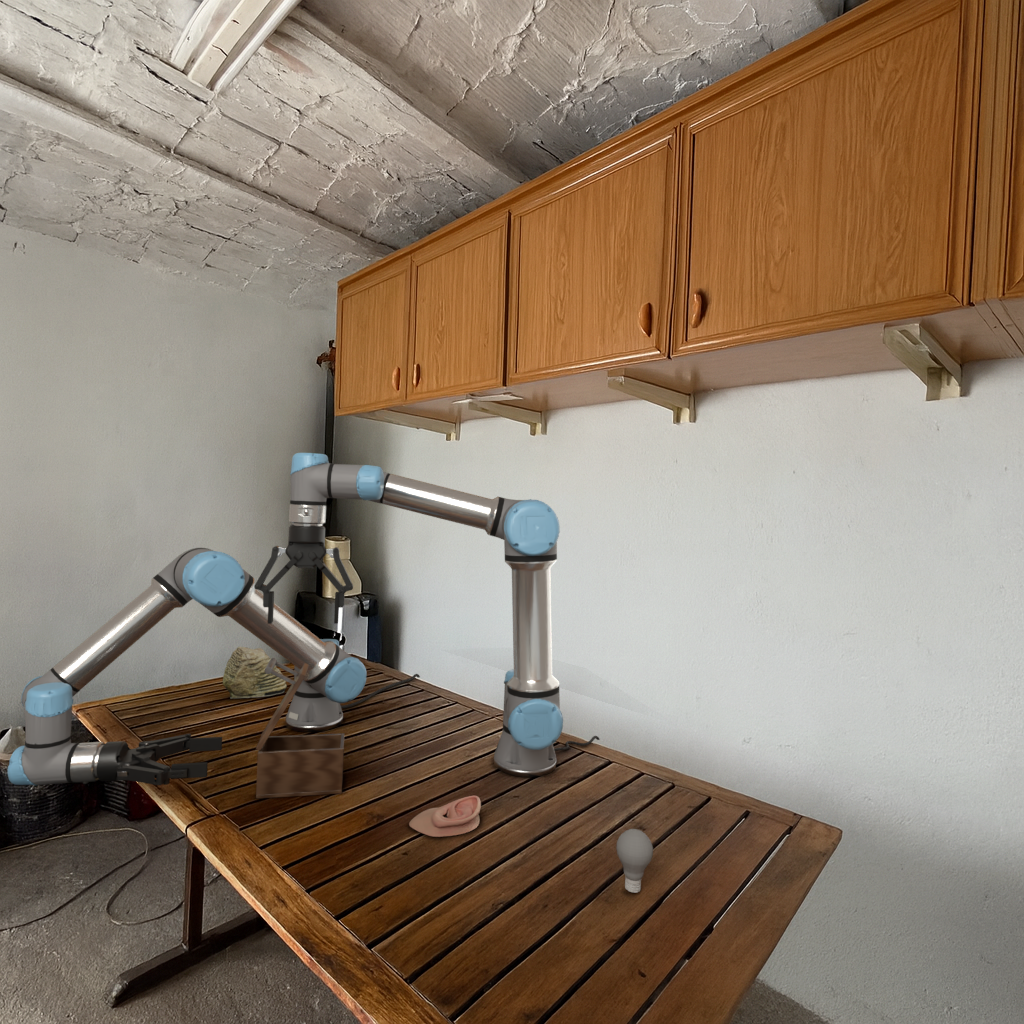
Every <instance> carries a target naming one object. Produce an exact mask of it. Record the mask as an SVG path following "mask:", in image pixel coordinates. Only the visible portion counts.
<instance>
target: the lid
mask: <svg viewBox="0 0 1024 1024" xmlns="http://www.w3.org/2000/svg"><path fill="white" fill-rule="evenodd" d="M275 665H276V667H277V668H279V669H281V670H284V671H285V672H287V673H289V674H292V675H293V676H294V675H295V676H297V677H296V678H295V680H294V679H292V678H290V677H288V676H286V675H284V674H283V673H282V674H280V673H278V672H276V671H274V670H273V669H274V667H275ZM308 666H309V665H308V664H306V663H304V665H303V667H302V668H301V670H300V672H299V673H298V672H296V671H294V669H293V668H291V667H288V666H286V665H284V664H283V663H280V662H278V661H277V659H276V658H275V657H272V658H271V659H270V661H269V663H268V665H267V667H266V668H265V673H266V674H270V673H271V674H273V675H275V676H277V677H279V678H281V679H283V680H285V681H286V683H288V684H290V686H289V687H288V690H287V691H286V693H285V695H284V696H283V698H282V700H281V701H280V703H279V705H278V706H277V708H276V709H275V711H274V713H273V714H272V716H271V718H270V720H269V721H268V723H267V725H266V726H265V727H264V729H263V730H262V733H261V735H260V738H259V739H258V742H257V745H256V747H255V750H257V751H260V750H261V749H262V747H263V745H264V744H265V742H266V740H267V739H268V737H269V736H271V734H272V732H273V731H274V729H275V727H276V725H278V722H279V721H280V719H281V718H282V716H283V714H284V712H285V711H286V709H287V707H288V706H289V705H290V703H291V702H292V699H293V696H294V694H295V693H296V691H297V689H298V688H299V686H300V684H301V683H302V681H303V679H304V678H305V676H306V672H307V669H308Z"/></svg>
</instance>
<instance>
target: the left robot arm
mask: <svg viewBox="0 0 1024 1024" xmlns="http://www.w3.org/2000/svg"><path fill="white" fill-rule="evenodd" d="M255 584H256V582H255V578H254V576H253V575H251V574H250V573H249V572H247V571H246V570H245V569H243V567H242V566H241V564H240V562H239V561H238V560H237V559H236V558H234V557H233V556H232V555H230V554H228V553H225V552H222V551H218V550H217V551H216V550H214V549H210V548H207V547H194V548H191V549H188V550H186V551H183V552H181V553H180V554H179V555H178V556H176V557H175V558H174V559H173V560H172V561H171V562H169V563H168V564H167V565H166V566H165V567H164V568H162V569H161V570H160V571H159V572H158V573H157V574H156V575H154V576H153V577H152V578H151V580H150V586H148V587H147V588H146V589H144V591H142V592H141V593H140V594H139V595H137V596H136V597H135V598H134V599H133V600H132V601H130V602H129V603H128V604H127V605H126V606H124V607H123V608H122V609H120V611H118V612H117V613H115V615H114V616H112V617H111V618H110V619H109V620H107V622H105V623H104V624H103V625H102V626H100V627H99V628H98V629H97V630H96V631H94V632H93V633H92V634H91V635H90V636H88V637H87V638H86V639H85V640H83V641H82V642H81V643H80V644H79V645H77V646H76V647H75V648H74V649H73V650H72V651H70V652H69V653H68V654H66V656H65V657H63V658H62V659H61V660H60V661H59V662H57V663H56V664H55V665H53V667H51V668H50V669H48V671H46V672H45V673H44V674H43V675H39V676H35V677H34V678H32V679H31V680H29V681H28V682H27V683H26V684H25V685H24V687H23V689H22V693H21V696H20V700H21V705H22V707H23V714H24V719H25V721H24V722H25V723H24V724H25V733H24V734H25V740H24V745H20V746H18V747H16V748H15V749H14V751H13V752H12V754H11V756H10V758H9V764H8V766H7V777H8V778H7V779H8V780H9V782H10V783H11V784H13V785H15V786H34V787H36V786H37V787H38V786H42V785H45V786H46V785H54V784H55V785H57V784H73V783H74V784H75V783H82V784H83V785H87V784H88V783H89V782H90V783H91V782H92V783H93V782H97V781H100V782H111V781H112V782H115V781H130V782H136V783H141V784H148V785H154V786H162V785H163V786H167V785H170V783H171V780H178V779H179V780H180V779H196V778H197V779H198V778H207V777H208V766H209V765H208V764H209V761H205V762H204V761H203V762H202V761H201V762H184V763H172V764H171V765H170V766H169V765H167V764H164V763H160V762H158V761H160V759H162V758H166V757H169V756H171V755H175V754H179V753H182V752H185V751H188V752H189V753H190V752H212V751H222V750H223V736H209V737H192V734H191V733H186V734H180V735H175V736H171V737H170V736H169V737H165V738H159V739H153V740H146V741H145V740H144V741H139V742H138V747H137V746H136V747H135V748H130V746H129V744H128V742H127V741H126V740H118V741H106V742H105V743H104V741H93V742H92V741H91V742H90V741H89V742H72V721H73V720H72V719H73V718H72V717H73V704H74V698H73V697H74V696H76V695H77V694H78V693H79V692H80V691H81V690H82V689H83V688H84V687H86V686H87V685H88V684H89V683H90V682H91V681H93V680H94V679H95V678H96V677H97V676H98V675H99V674H101V673H102V672H103V671H104V670H105V669H106V668H107V667H109V666H110V665H111V664H112V663H113V662H114V661H116V660H117V659H119V657H120V656H121V655H123V654H124V653H125V652H126V651H127V650H129V648H131V647H132V646H133V645H134V644H135V643H136V642H138V641H139V640H140V639H141V638H142V637H144V636H145V635H146V634H147V633H148V632H149V631H150V630H151V629H153V627H155V626H156V625H157V624H159V622H161V621H162V620H163V619H164V618H165V617H167V616H168V615H169V614H170V613H171V612H173V610H175V609H178V608H183V607H185V606H186V605H187V604H188V603H189V602H191V601H192V600H194V601H195V602H196V603H199V604H200V605H201V606H203V608H205V609H206V610H207V611H209V612H211V613H212V614H214V615H215V616H216V617H218V618H223V617H229V618H231V619H232V620H233V621H234V622H236V623H237V624H238V625H240V626H241V627H242V628H244V629H245V630H246V631H248V632H249V633H251V634H252V635H253V636H254V637H256V638H257V639H258V640H260V641H261V642H263V643H264V644H265V645H267V646H268V647H270V648H271V649H272V650H273V651H275V652H276V654H277V653H278V654H279V655H280V656H281V657H283V658H284V659H285V660H286V661H288V662H289V663H291V664H292V665H293V666H294V669H293V670H294V671H296V672H298V673H299V672H300V670H301V668H302V667H303V665H304V663H306V664H308V665H309V666H308V669H307V672H306V676H305V678H304V679H303V681H302V683H301V684H300V686H299V688H298V689H297V691H296V693H295V694H294V696H293V698H292V699H291V701H290V703H289V708H288V711H287V713H286V715H285V726H286V728H287V729H289V730H291V731H294V732H295V731H296V732H301V733H316V732H325V731H329V730H332V729H335V728H337V727H339V726H340V725H342V723H343V722H344V713H343V709H349V708H352V707H354V706H357V705H359V704H362V703H363V702H366V701H367V700H369V699H370V698H372V697H373V696H375V695H377V694H379V693H381V692H383V691H385V690H388V689H391V688H393V687H395V686H398V685H402V684H405V683H408V682H411V681H413V680H414V679H415V678H421V676H420V674H418V673H415V674H413V675H412V676H411V677H409V678H406V679H403V680H400V681H396V682H394V683H391V684H388V685H386V686H383V687H381V688H379V689H377V690H375V691H373V692H371V693H370V694H368V695H366V696H365V697H363V698H360V699H359V700H357V701H355V702H352V703H349V702H351V701H353V700H354V699H356V698H357V697H359V695H360V694H361V693H362V691H363V690H364V688H365V685H366V683H367V674H368V673H367V668H366V666H365V665H364V663H363V662H362V661H361V660H360V659H359V658H358V657H354V656H352V655H350V654H349V653H348V652H347V651H345V650H344V649H343V648H342V647H341V646H340V641H339V640H338V639H335V638H323V639H322V638H319V637H318V636H317V635H315V634H314V633H312V632H311V630H309V629H308V628H307V627H306V626H304V625H303V624H302V623H300V622H299V621H298V620H297V619H295V618H294V617H293V616H291V615H290V614H289V613H288V612H287V611H286V610H284V609H283V608H281V607H280V606H279V605H278V604H276V603H275V602H274V611H273V622H272V623H271V624H268V607H264V606H263V592H262V591H261V590H257V589H255V588H254V586H255ZM296 677H297V676H295V675H293V680H295V678H296ZM344 703H345V704H344ZM346 703H348V704H346ZM343 704H344V705H343Z"/></svg>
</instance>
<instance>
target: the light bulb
mask: <svg viewBox="0 0 1024 1024" xmlns="http://www.w3.org/2000/svg"><path fill="white" fill-rule="evenodd" d="M615 849H616V854H617V857H618V859H619V861H620V863H621V865H622V867H623V873H624V874H623V875H624V876H625V878H624V888H625V890H627V891H628V892H630V893H634V894H635V893H639V892H640V891H641V889H642V887H641V886H642V879H643V877H644V875H645V871H646V868H647V867H648V866H649V864H650V863H651V861H652V859H653V855H654V847H653V843H652V841H651V838H649V836H648V835H647V834H646V833H645V832H643V831H642V830H641V829H636V828H629V829H627V830H625V831H623V832H622V833H621V834H620V835H619V837H618V839H617V841H616V847H615Z"/></svg>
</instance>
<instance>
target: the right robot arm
mask: <svg viewBox="0 0 1024 1024" xmlns="http://www.w3.org/2000/svg"><path fill="white" fill-rule="evenodd" d="M289 475H290V485H289V486H290V487H289V488H290V489H289V491H290V493H289V494H290V495H289V512H288V514H289V515H288V516H289V517H288V522H289V523H290V524H291V525H289V526H288V540H287V541H288V542H287V543H288V544H287V546H286V547H282V546H279V545H275V546H273V547H272V549H271V555H270V558H269V560H268V561H267V563H266V565H265V566H264V568H263V570H262V572H261V573H260V575H259V577H258V579H257V581H256V582H255V586H254V588H255V589H257V590H259V591H260V592H261V593H263V606H264V607H268V624H271V623H272V622H273V611H274V603H275V591H274V590H272V589H273V588H274V586H275V585H276V584H277V583H278V582H279V581H280V580H281V579H282V578H283V577H284V576H285V575H286V574H287V573H288V572H289V570H291V569H292V568H293V566H295V568H297V569H303V568H308V569H314V568H316V567H317V568H318V569H319V570H320V571H321V572H322V574H323V575H324V576H325V578H327V579H328V581H329V582H330V583H331V584H332V586H333V588H335V589H336V590H337V591H335V592H334V612H333V613H334V618H333V624H336V625H337V624H338V623H339V609H340V608H341V609H342V608H344V606H345V594H346V592H349V591H353V590H354V584H353V582H352V580H351V577H350V576H349V573H348V571H347V569H346V566H345V565H344V562H343V561H342V559H341V557H340V548H339V547H337V546H336V547H333V548H326V527H325V526H324V524H326V519H327V499H344V500H363V501H368V502H372V503H376V504H381V505H386V506H389V507H393V508H397V509H401V510H406V511H409V512H412V513H417V514H421V515H424V516H427V517H432V518H436V519H440V520H444V521H449V522H451V523H455V524H460V525H464V526H467V527H472V528H475V529H480V530H483V531H485V532H486V534H487V535H488V536H491V537H493V538H498V539H500V540H502V541H503V543H504V548H503V549H504V563H506V564H507V565H508V566H509V568H510V569H511V596H512V597H511V600H512V603H511V604H512V606H511V607H512V647H513V648H512V651H513V652H512V654H513V655H512V656H513V669H509V670H507V671H506V672H505V676H504V681H503V684H504V693H503V714H502V732H501V735H500V737H499V739H498V743H497V744H496V748H495V751H494V755H493V765H494V767H495V768H496V769H497V770H499V771H501V772H502V773H505V774H508V775H511V776H516V777H523V778H532V777H533V778H534V777H542V776H545V775H547V774H550V773H553V772H554V771H555V770H556V768H557V755H556V752H560V751H567V750H569V749H570V745H575V746H580V747H587V746H589V745H591V744H592V743H593V742H594V741H595V739H596V740H597V741H600V740H601V738H600V737H599V736H597V735H593V736H592V737H591V738H590V740H589V741H587V742H577V741H574V740H567V741H565V743H564V744H565V746H563V747H554V744H555V743H556V742H557V741H558V739H559V738H560V736H561V735H562V732H563V727H564V716H563V712H562V711H561V699H560V698H561V697H560V681H559V680H558V679H557V678H556V677H555V676H554V675H553V642H552V641H553V640H552V638H553V637H552V636H553V635H552V632H553V631H552V588H551V587H552V586H551V585H552V584H551V582H552V581H551V577H552V576H551V569H552V567H553V566H554V565H555V563H557V561H558V539H559V537H560V532H561V529H560V528H561V527H560V521H559V518H558V516H557V513H556V512H555V510H554V509H552V507H551V506H550V505H549V504H547V503H546V502H544V501H542V500H539V499H531V498H530V499H511V498H506V497H502V496H496V497H494V498H489V497H484V496H481V495H477V494H473V493H469V492H465V491H461V490H457V489H453V488H449V487H445V486H442V485H437V484H433V483H429V482H427V481H426V482H425V481H422V480H417V479H413V478H410V477H406V476H402V475H399V474H394V473H389V472H386V471H384V469H383V468H382V467H381V466H379V465H371V464H347V463H346V464H345V463H341V464H340V463H331V462H329V457H328V455H326V454H325V453H324V454H323V453H317V452H316V453H314V452H296V453H294V454H293V455H292V457H291V468H290V473H289ZM283 554H286V556H287V557H288V559H289V561H288V562H287V563H286V564H285V565H284V566H283V567H282V569H280V570H279V571H278V573H277V574H275V575H274V577H273V578H272V579H271V580H270V581H269V582H267V584H264V583H265V582H266V580H267V578H268V576H269V575H270V573H271V571H272V569H273V568H274V566H275V564H276V562H277V560H278V558H281V557H282V556H283ZM327 555H329V558H331V559H333V561H334V564H335V565H336V568H337V570H338V571H339V574H340V575H341V578H342V580H343V583H344V584H345V585H343V584H342V583H341V581H340V580H339V579H338V578H337V577H336V575H334V573H333V572H332V571H331V569H329V567H328V566H327V565H326V563H325V561H324V560H323V559H324V558H325V557H326V556H327Z"/></svg>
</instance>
